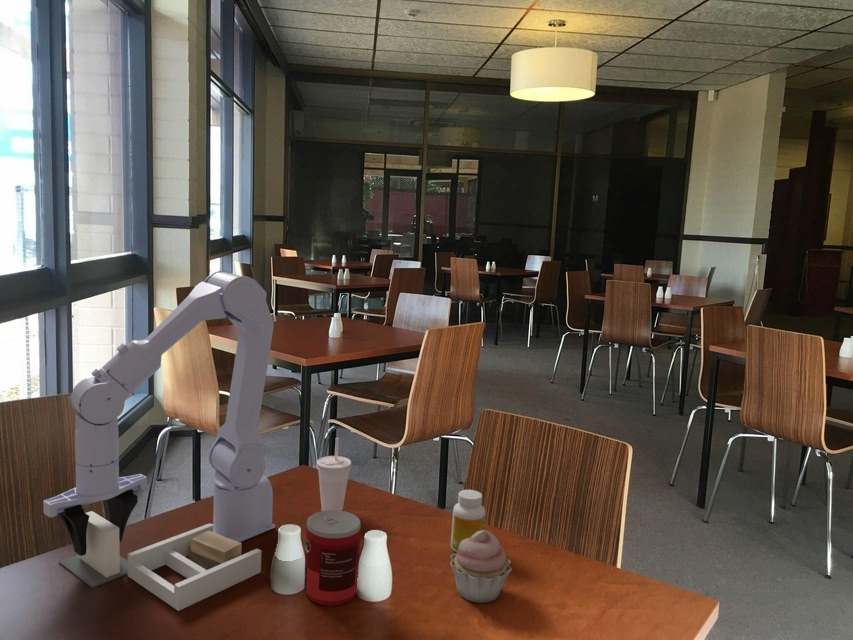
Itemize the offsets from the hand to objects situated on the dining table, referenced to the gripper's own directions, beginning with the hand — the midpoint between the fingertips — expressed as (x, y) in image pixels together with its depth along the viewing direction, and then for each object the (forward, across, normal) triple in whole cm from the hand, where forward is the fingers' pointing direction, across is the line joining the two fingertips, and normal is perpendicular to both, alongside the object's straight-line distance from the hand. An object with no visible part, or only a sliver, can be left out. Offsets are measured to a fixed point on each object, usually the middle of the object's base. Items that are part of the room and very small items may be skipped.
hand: (98, 546), depth 102 cm
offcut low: (+4, -12, +12) cm, 17 cm away
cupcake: (+3, -34, +46) cm, 57 cm away
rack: (+3, -8, +12) cm, 15 cm away
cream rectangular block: (+3, 0, 0) cm, 3 cm away
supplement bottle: (+3, -44, +37) cm, 58 cm away
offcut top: (+1, -12, +12) cm, 17 cm away
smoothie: (+3, -38, +11) cm, 40 cm away
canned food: (+3, -19, +30) cm, 36 cm away
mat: (+3, 0, 0) cm, 3 cm away
